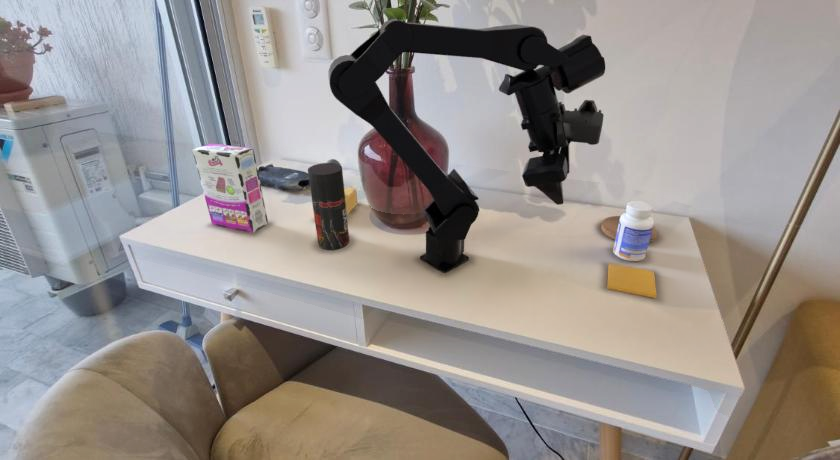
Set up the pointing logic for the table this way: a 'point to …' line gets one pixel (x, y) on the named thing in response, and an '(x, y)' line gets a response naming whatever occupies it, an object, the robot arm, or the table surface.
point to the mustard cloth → (631, 280)
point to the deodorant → (329, 205)
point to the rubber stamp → (347, 193)
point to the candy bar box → (231, 186)
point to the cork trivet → (611, 228)
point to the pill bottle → (634, 231)
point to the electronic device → (283, 178)
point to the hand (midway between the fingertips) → (563, 188)
